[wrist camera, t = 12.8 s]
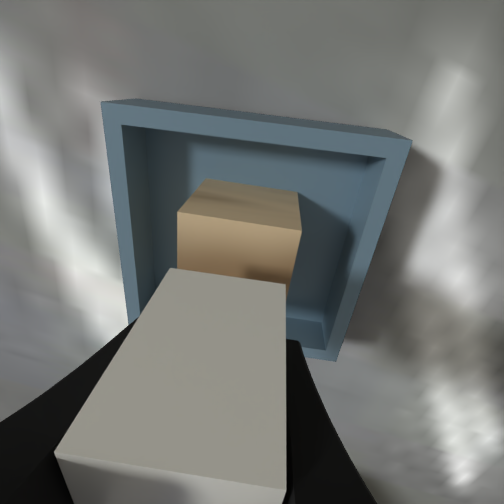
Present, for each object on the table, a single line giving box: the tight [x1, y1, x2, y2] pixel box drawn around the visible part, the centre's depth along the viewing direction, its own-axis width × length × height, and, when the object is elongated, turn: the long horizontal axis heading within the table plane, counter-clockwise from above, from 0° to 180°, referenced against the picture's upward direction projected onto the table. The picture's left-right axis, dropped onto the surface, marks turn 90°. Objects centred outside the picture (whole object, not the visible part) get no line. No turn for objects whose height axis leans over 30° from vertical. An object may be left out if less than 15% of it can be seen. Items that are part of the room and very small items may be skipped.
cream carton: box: [54, 268, 286, 504], centre depth 9 cm, size 4×4×6 cm
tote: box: [101, 99, 413, 362], centre depth 17 cm, size 13×13×4 cm
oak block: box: [177, 178, 302, 299], centre depth 16 cm, size 6×5×5 cm
